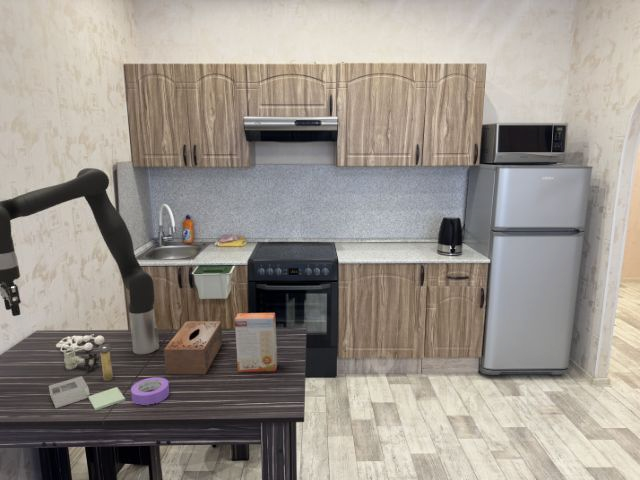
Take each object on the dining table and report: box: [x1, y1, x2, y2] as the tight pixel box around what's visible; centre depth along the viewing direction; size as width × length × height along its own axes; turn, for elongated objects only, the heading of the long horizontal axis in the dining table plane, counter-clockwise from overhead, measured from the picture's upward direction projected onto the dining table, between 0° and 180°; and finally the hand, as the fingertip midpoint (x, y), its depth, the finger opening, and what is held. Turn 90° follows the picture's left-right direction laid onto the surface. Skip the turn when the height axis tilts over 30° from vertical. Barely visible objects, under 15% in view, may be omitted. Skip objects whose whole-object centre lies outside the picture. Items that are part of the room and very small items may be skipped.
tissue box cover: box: [163, 320, 223, 375], centre depth 176 cm, size 26×14×10 cm, turn 178°
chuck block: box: [48, 375, 91, 409], centre depth 150 cm, size 10×10×4 cm
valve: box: [63, 349, 100, 372], centre depth 169 cm, size 7×7×12 cm
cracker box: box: [234, 312, 278, 373], centre depth 165 cm, size 14×6×21 cm, turn 89°
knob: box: [97, 343, 114, 382], centre depth 160 cm, size 4×4×12 cm
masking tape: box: [130, 376, 170, 406], centre depth 150 cm, size 12×12×4 cm
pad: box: [87, 386, 126, 411], centre depth 148 cm, size 9×9×1 cm
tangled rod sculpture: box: [55, 333, 105, 353], centre depth 187 cm, size 19×14×4 cm
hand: (13, 312), depth 151 cm, fingers open, 8 cm apart
